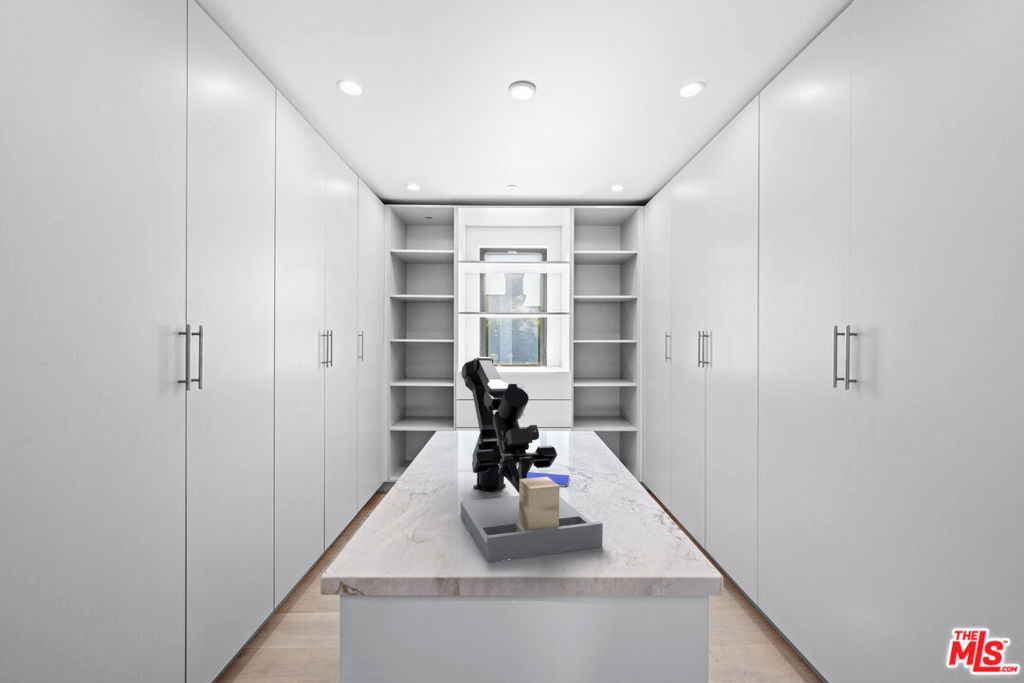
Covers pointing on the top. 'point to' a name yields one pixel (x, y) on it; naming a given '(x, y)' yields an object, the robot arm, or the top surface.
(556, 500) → the maple block
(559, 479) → the hard drive
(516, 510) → the board
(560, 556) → the top surface
